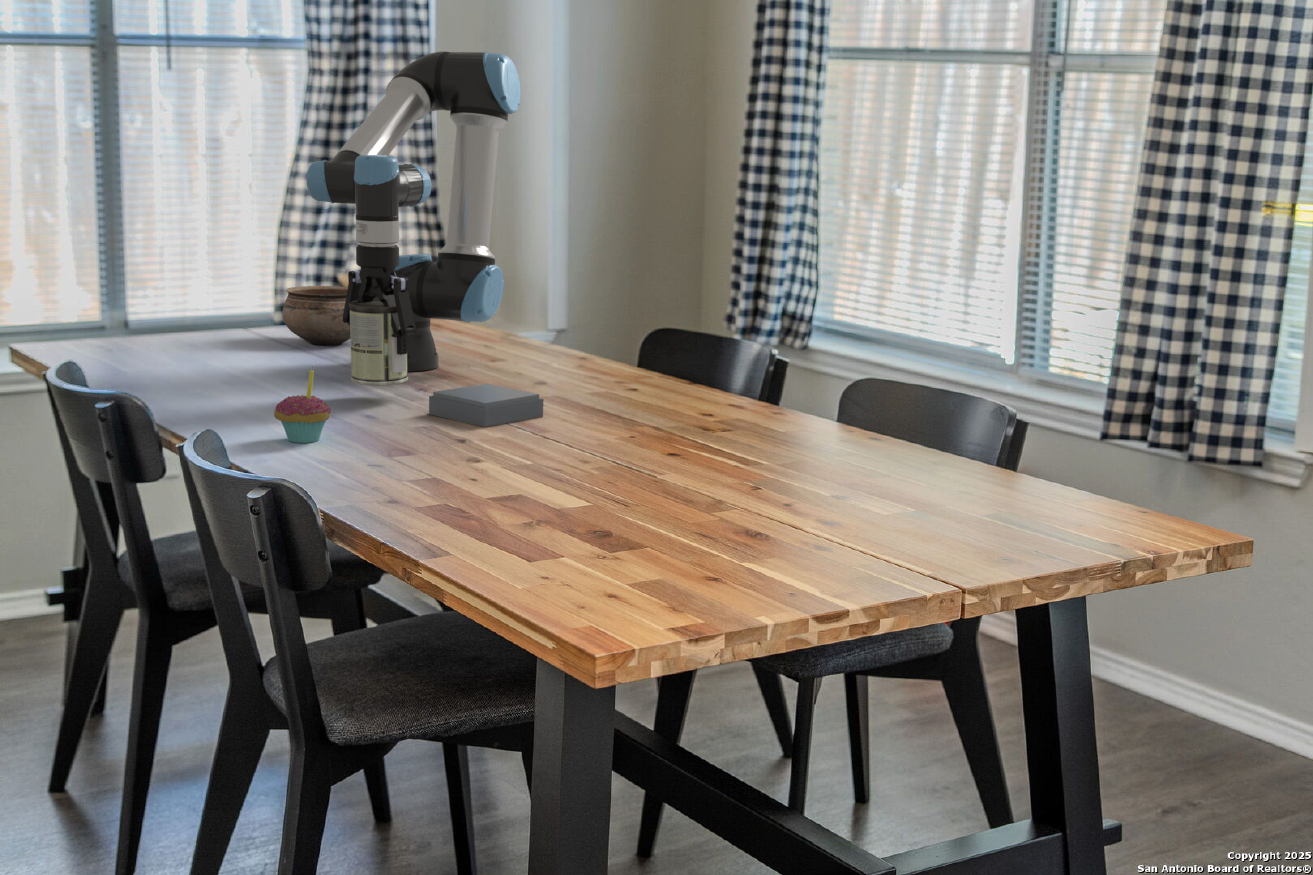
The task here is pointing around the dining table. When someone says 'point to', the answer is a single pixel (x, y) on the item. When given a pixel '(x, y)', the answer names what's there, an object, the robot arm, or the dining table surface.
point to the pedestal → (485, 405)
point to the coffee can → (372, 344)
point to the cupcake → (303, 415)
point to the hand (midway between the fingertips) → (379, 367)
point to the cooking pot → (317, 314)
